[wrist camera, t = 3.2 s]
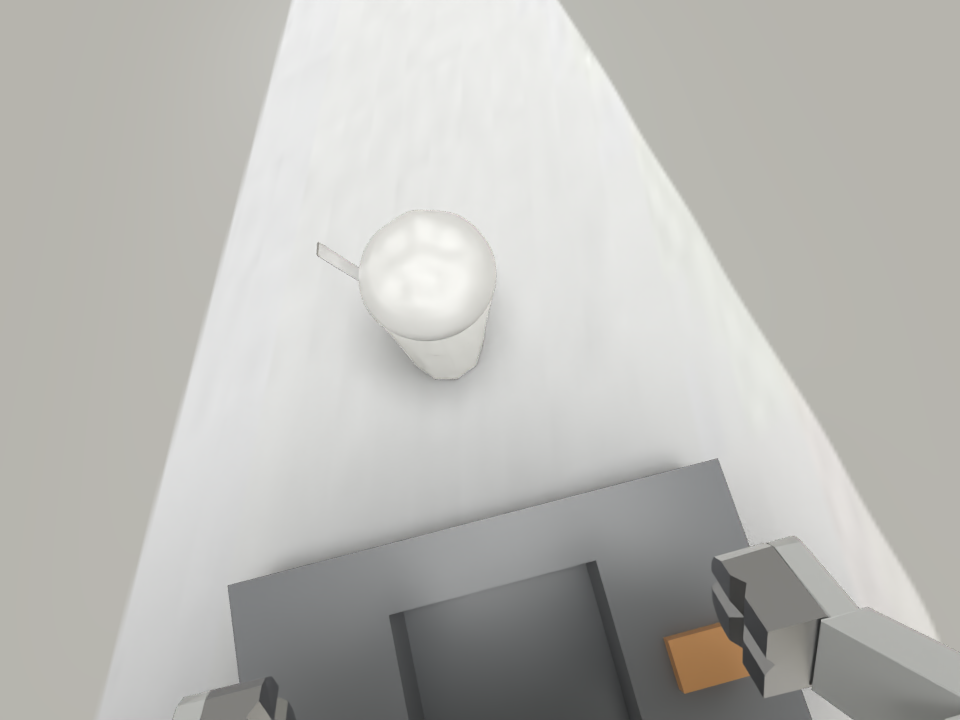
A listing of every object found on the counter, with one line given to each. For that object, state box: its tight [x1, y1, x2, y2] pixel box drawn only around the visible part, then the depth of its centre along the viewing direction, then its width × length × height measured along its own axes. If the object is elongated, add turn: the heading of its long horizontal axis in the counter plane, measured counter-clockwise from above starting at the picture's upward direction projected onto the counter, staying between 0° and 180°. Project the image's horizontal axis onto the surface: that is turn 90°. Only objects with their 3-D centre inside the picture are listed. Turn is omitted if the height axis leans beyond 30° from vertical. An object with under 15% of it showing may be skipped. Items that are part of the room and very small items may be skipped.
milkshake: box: [317, 210, 497, 380], centre depth 23 cm, size 4×5×10 cm
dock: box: [228, 458, 812, 720], centre depth 21 cm, size 18×12×5 cm, turn 104°
